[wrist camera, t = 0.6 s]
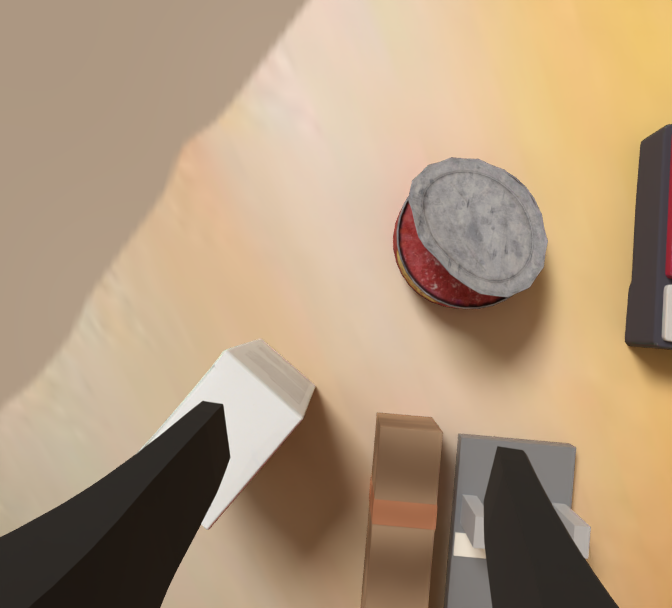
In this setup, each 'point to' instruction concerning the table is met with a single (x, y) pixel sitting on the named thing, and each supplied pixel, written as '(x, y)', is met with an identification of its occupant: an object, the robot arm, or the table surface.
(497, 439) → the base plate
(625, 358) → the table surface
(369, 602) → the banded tan post
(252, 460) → the small box
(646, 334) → the black and red box
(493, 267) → the canned food
